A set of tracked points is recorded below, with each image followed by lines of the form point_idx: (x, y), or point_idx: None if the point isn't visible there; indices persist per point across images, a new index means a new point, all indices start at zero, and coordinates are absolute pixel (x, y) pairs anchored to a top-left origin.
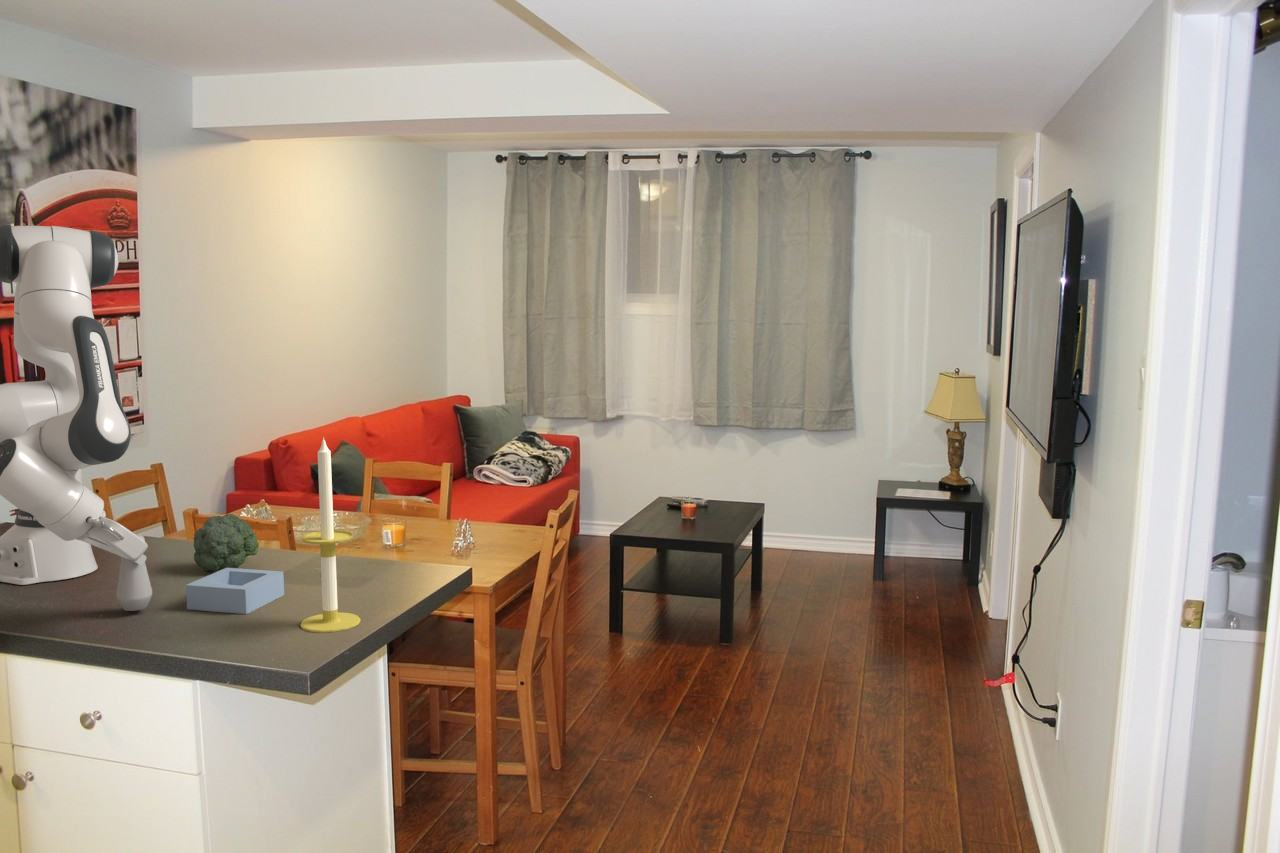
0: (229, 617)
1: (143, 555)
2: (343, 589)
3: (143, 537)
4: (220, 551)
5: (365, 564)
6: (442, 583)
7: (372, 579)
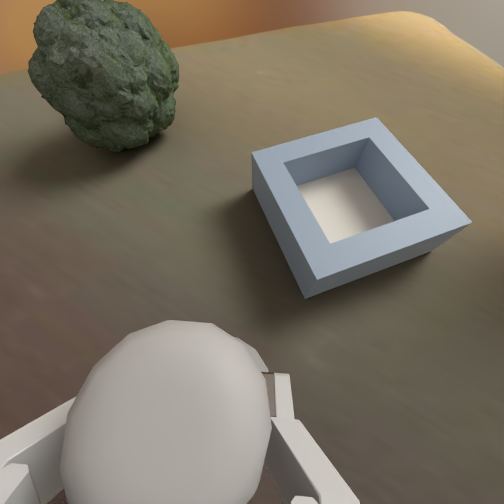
0: (429, 281)
1: (291, 394)
2: (397, 104)
3: (222, 338)
4: (148, 106)
5: (300, 42)
6: (463, 43)
7: (377, 67)
